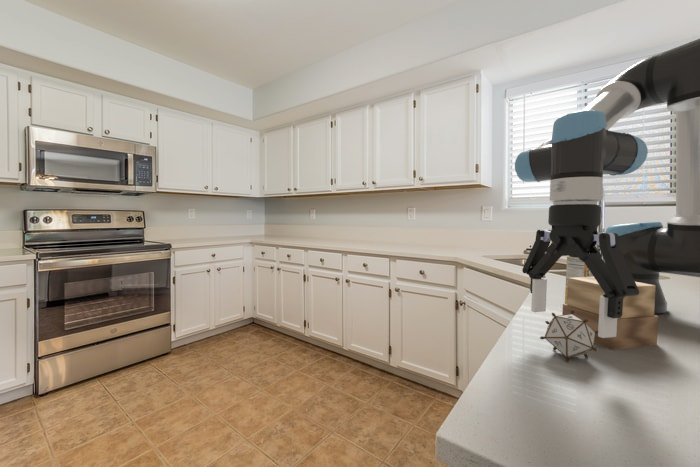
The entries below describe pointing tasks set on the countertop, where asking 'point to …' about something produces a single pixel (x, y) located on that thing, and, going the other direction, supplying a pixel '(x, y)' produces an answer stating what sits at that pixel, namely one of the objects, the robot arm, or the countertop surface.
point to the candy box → (575, 271)
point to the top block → (589, 291)
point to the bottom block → (621, 329)
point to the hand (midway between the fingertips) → (568, 322)
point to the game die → (570, 335)
